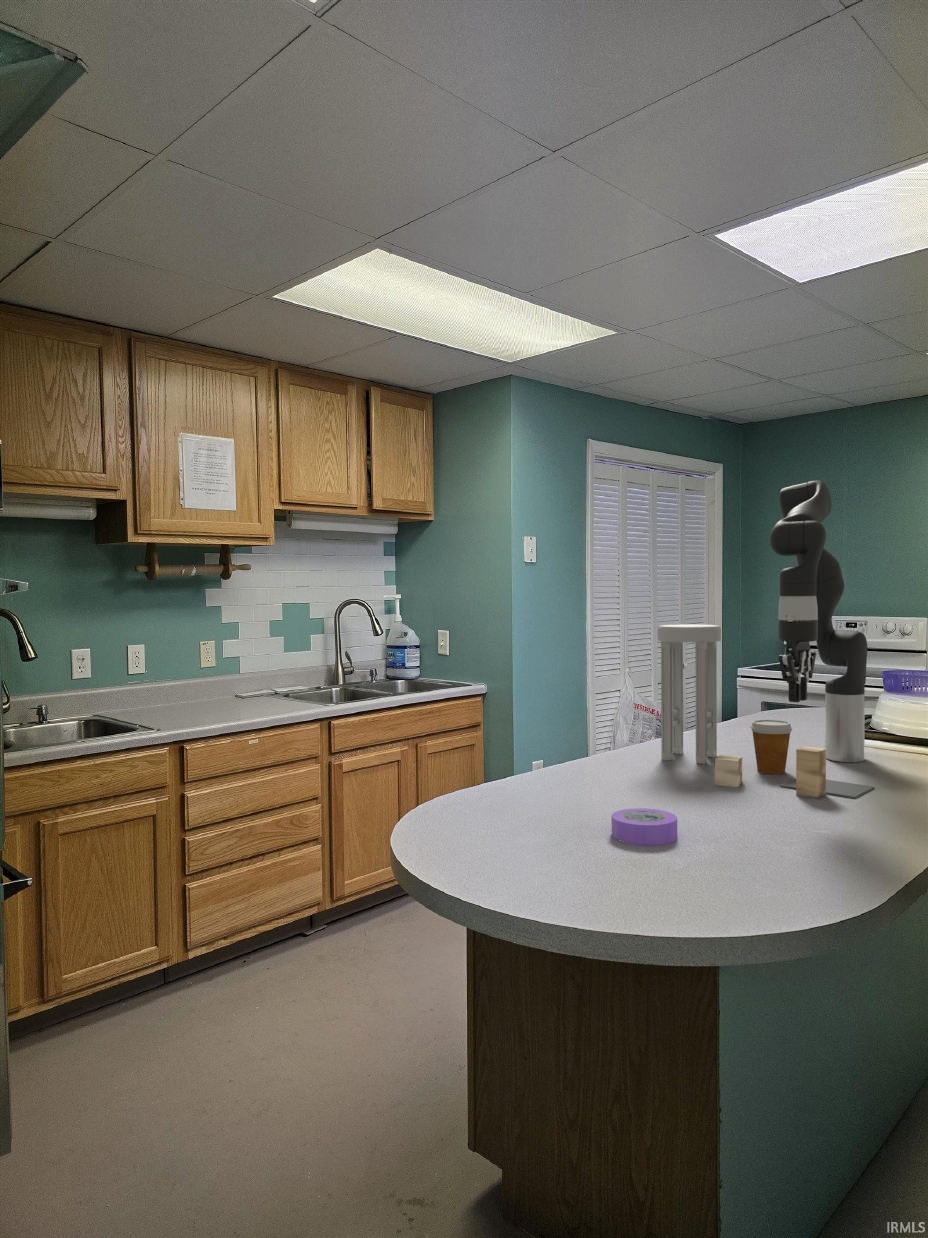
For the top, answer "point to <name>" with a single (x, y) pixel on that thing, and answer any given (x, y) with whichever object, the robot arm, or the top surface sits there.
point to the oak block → (811, 772)
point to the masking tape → (644, 826)
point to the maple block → (728, 770)
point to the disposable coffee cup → (771, 745)
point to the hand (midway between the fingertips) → (797, 700)
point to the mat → (838, 788)
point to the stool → (673, 688)
